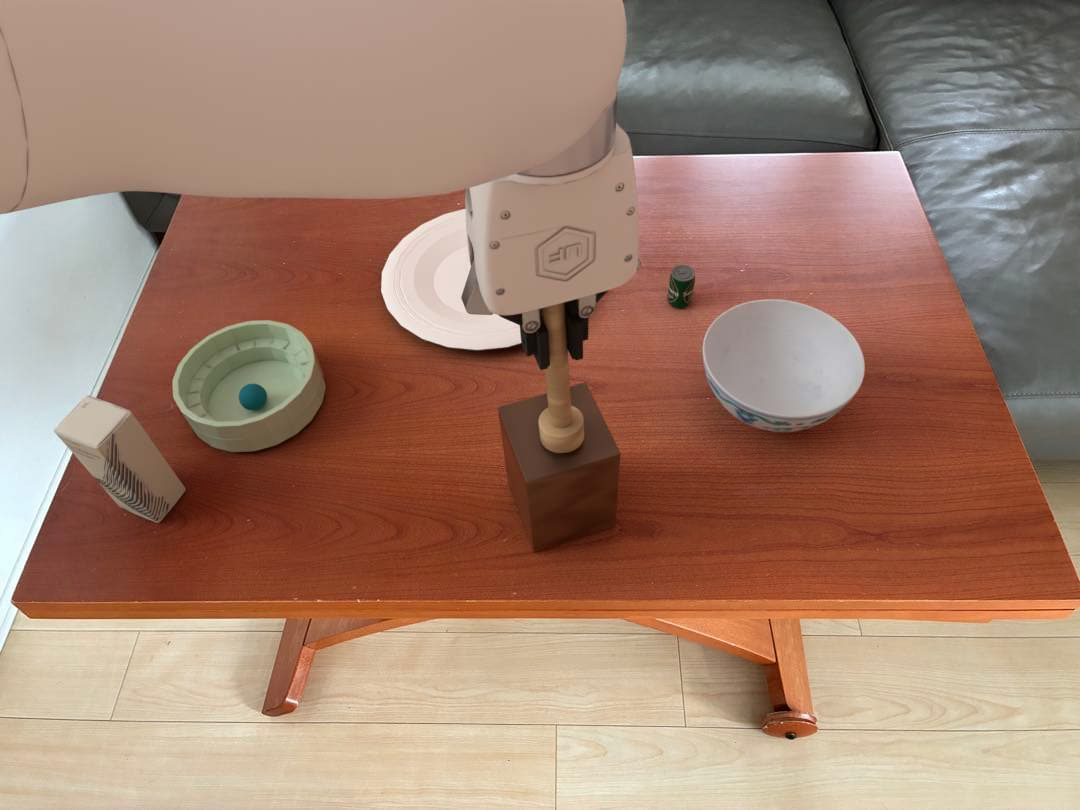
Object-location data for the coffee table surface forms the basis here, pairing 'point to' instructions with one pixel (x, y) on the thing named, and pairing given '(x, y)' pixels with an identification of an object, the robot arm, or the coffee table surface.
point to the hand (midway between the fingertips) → (554, 349)
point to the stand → (560, 472)
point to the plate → (440, 289)
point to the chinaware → (781, 364)
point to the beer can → (681, 286)
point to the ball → (252, 397)
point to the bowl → (244, 359)
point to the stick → (559, 389)
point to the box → (121, 457)
